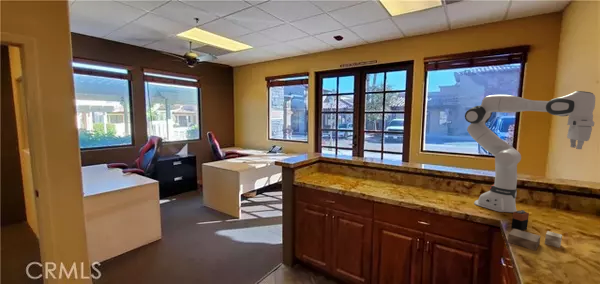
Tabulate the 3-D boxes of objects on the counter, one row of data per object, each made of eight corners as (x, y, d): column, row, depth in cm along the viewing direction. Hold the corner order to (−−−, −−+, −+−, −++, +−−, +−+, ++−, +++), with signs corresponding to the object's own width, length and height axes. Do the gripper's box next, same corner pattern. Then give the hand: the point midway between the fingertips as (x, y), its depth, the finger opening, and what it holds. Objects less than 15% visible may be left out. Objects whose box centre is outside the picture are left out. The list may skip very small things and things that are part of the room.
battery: (510, 228, 140) (513, 210, 139) (517, 226, 143) (519, 208, 142) (520, 231, 136) (522, 213, 135) (527, 229, 139) (529, 211, 138)
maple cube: (544, 243, 124) (546, 233, 123) (546, 240, 127) (547, 230, 126) (559, 248, 120) (560, 237, 119) (560, 244, 123) (562, 234, 122)
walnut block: (507, 241, 124) (508, 233, 124) (512, 236, 131) (513, 228, 130) (535, 250, 117) (536, 242, 116) (539, 243, 123) (540, 235, 123)
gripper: (565, 121, 148) (561, 146, 149) (577, 122, 131) (573, 149, 132) (581, 122, 144) (577, 147, 146) (596, 122, 127) (591, 150, 129)
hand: (575, 148), depth 139 cm, fingers open, 8 cm apart
